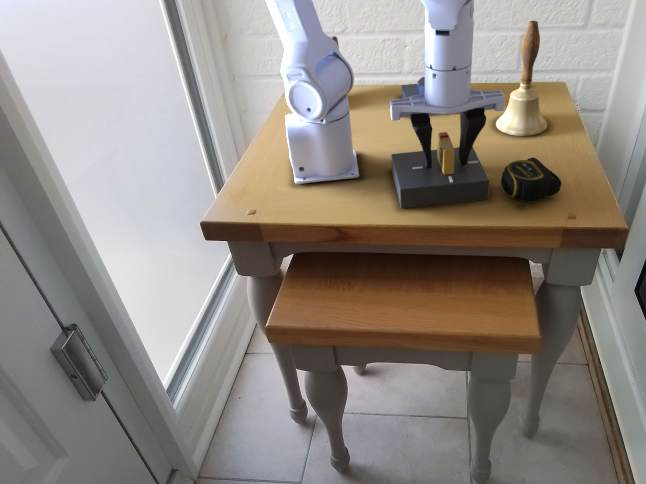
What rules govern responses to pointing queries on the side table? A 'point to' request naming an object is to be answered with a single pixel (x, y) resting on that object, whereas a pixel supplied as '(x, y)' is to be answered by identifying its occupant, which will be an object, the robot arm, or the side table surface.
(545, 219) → the side table surface
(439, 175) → the plate
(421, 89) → the button base
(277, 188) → the side table surface
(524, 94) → the hand bell
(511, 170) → the tape measure
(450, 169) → the lock knob
